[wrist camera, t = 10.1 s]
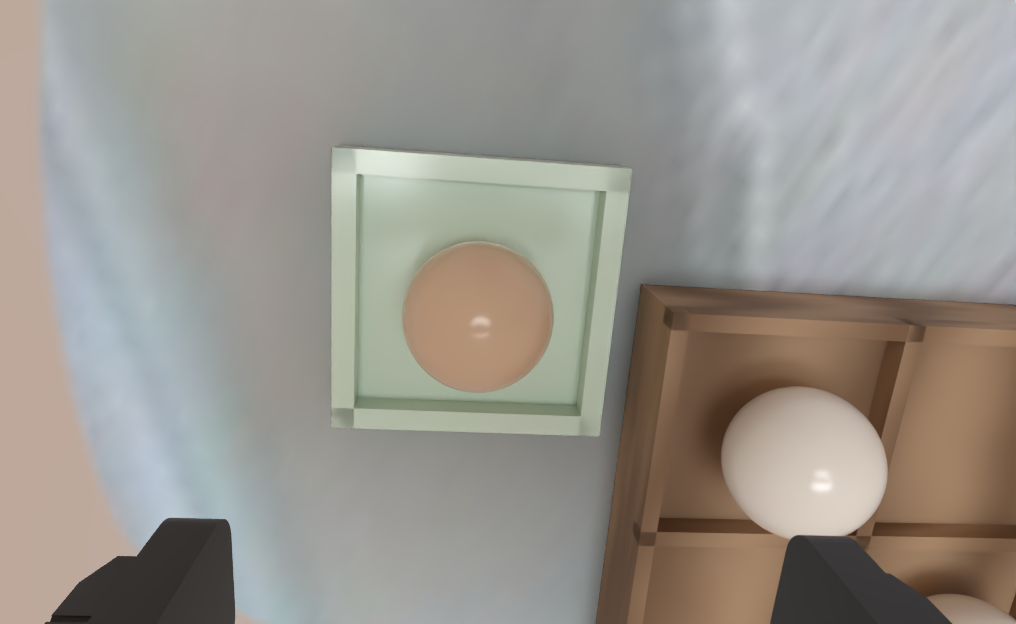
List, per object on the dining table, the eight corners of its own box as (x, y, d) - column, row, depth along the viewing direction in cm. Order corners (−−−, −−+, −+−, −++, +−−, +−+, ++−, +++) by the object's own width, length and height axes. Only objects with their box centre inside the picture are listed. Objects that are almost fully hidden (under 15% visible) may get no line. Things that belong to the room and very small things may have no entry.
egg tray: (1050, 307, 27) (1145, 337, 23) (942, 649, 32) (1007, 720, 28) (641, 284, 25) (673, 312, 22) (592, 648, 30) (612, 724, 26)
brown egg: (550, 233, 24) (573, 263, 19) (537, 363, 25) (556, 422, 20) (410, 225, 23) (397, 253, 18) (405, 357, 25) (392, 416, 20)
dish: (619, 165, 24) (632, 168, 22) (589, 415, 27) (599, 436, 25) (340, 144, 23) (331, 147, 21) (339, 407, 26) (331, 427, 24)
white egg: (845, 367, 24) (944, 430, 19) (816, 489, 25) (902, 577, 20) (711, 361, 23) (778, 424, 18) (689, 486, 25) (746, 576, 20)
